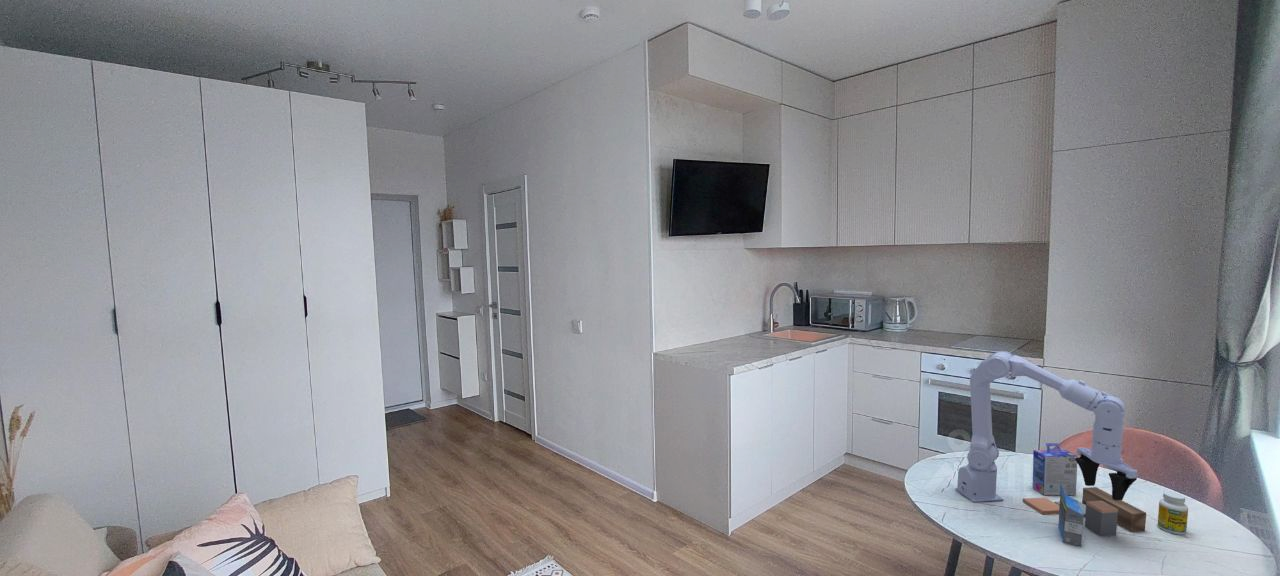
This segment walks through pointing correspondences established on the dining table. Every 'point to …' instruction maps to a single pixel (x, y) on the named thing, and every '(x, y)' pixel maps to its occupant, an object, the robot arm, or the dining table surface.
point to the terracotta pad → (1042, 505)
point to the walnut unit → (1127, 513)
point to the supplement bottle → (1173, 513)
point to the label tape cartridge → (1070, 519)
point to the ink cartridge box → (1054, 471)
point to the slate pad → (1082, 506)
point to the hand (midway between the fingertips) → (1103, 492)
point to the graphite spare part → (1101, 518)
